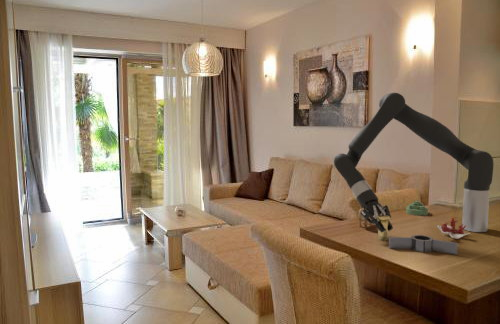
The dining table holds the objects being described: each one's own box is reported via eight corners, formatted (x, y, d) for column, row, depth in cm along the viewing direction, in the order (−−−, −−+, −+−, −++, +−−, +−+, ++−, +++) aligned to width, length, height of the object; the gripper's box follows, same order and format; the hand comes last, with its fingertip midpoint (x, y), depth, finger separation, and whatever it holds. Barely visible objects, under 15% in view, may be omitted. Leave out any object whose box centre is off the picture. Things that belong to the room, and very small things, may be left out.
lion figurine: (368, 230, 166) (368, 209, 166) (355, 228, 169) (356, 208, 168) (374, 222, 179) (375, 202, 178) (362, 220, 182) (363, 201, 181)
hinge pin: (378, 236, 157) (379, 214, 156) (390, 238, 155) (391, 216, 154) (374, 239, 153) (375, 217, 152) (387, 241, 151) (387, 218, 150)
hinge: (395, 241, 151) (395, 231, 150) (458, 251, 139) (459, 240, 138) (388, 248, 143) (388, 237, 143) (454, 259, 131) (454, 247, 130)
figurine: (463, 244, 147) (464, 226, 146) (430, 238, 155) (431, 221, 154) (474, 235, 158) (475, 219, 157) (443, 230, 166) (443, 214, 165)
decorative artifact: (414, 216, 190) (432, 215, 192) (415, 202, 189) (433, 200, 191) (401, 211, 199) (418, 210, 202) (402, 198, 198) (419, 197, 201)
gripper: (356, 190, 155) (380, 227, 146) (381, 187, 162) (405, 222, 153) (346, 201, 160) (368, 238, 151) (371, 197, 167) (394, 232, 158)
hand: (387, 230), depth 152 cm, fingers closed on hinge pin, 3 cm apart
